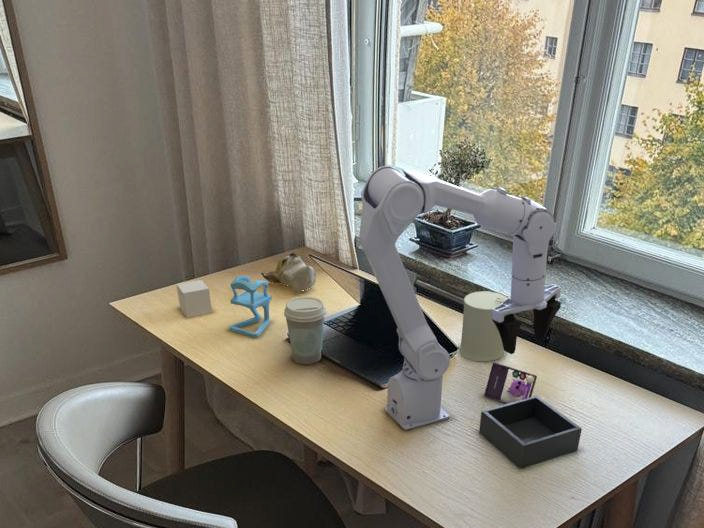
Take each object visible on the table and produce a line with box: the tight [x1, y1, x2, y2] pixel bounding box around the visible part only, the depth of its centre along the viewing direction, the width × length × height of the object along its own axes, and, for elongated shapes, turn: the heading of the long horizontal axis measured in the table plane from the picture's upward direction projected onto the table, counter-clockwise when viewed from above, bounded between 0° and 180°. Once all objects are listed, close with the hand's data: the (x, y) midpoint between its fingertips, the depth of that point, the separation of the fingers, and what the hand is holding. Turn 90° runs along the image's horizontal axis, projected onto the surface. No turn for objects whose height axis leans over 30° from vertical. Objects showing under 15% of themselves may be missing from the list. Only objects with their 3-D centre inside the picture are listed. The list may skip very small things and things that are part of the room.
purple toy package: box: [483, 361, 538, 404], centre depth 146 cm, size 7×5×9 cm
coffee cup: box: [283, 296, 327, 365], centre depth 159 cm, size 8×8×12 cm
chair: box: [228, 275, 273, 339], centre depth 171 cm, size 8×8×12 cm
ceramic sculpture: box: [260, 252, 317, 294], centre depth 191 cm, size 11×9×15 cm
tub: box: [478, 395, 582, 469], centre depth 134 cm, size 12×12×5 cm
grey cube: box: [176, 279, 213, 319], centre depth 181 cm, size 6×6×6 cm
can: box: [459, 290, 508, 362], centre depth 160 cm, size 9×9×12 cm
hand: (524, 344), depth 142 cm, fingers open, 7 cm apart
